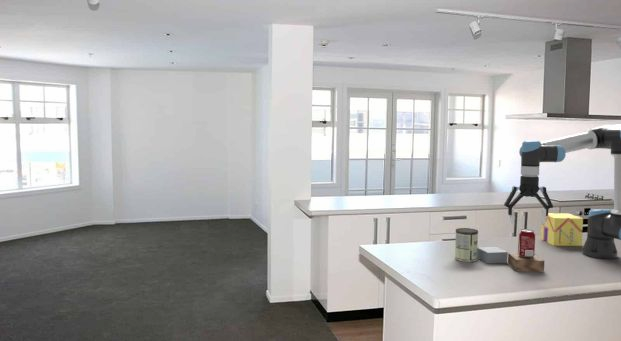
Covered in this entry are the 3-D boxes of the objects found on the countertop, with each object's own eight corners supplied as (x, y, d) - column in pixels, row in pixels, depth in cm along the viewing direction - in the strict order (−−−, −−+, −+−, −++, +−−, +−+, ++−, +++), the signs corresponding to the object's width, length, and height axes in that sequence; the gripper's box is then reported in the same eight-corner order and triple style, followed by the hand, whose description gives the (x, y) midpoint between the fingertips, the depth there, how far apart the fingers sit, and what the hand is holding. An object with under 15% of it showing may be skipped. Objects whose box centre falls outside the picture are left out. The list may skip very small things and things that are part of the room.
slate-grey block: (496, 256, 239) (496, 246, 239) (507, 262, 230) (507, 252, 229) (476, 257, 238) (477, 247, 238) (487, 263, 228) (487, 252, 228)
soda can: (535, 259, 217) (537, 232, 216) (519, 258, 219) (520, 231, 217) (532, 255, 224) (533, 229, 223) (516, 254, 225) (517, 228, 224)
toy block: (581, 245, 264) (583, 218, 263) (553, 245, 264) (554, 218, 263) (567, 239, 279) (568, 213, 278) (540, 239, 279) (542, 213, 278)
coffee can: (456, 255, 242) (457, 227, 241) (478, 257, 238) (479, 229, 237) (453, 260, 233) (454, 231, 232) (475, 263, 228) (477, 233, 227)
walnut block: (534, 264, 227) (535, 253, 226) (543, 272, 215) (544, 260, 214) (507, 263, 228) (508, 252, 228) (515, 270, 216) (515, 259, 216)
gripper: (556, 175, 220) (553, 222, 222) (498, 174, 223) (496, 220, 225) (562, 177, 213) (560, 225, 215) (502, 176, 216) (500, 223, 218)
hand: (527, 223), depth 220 cm, fingers open, 13 cm apart
